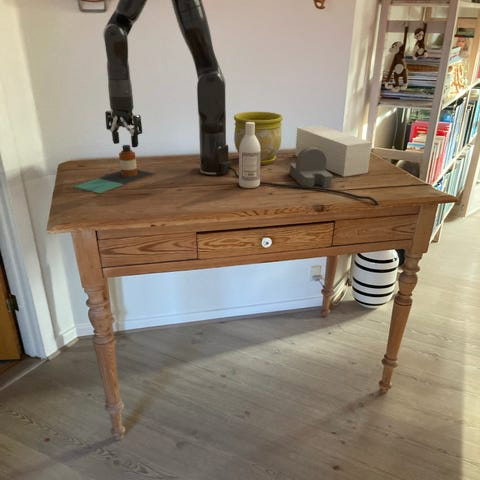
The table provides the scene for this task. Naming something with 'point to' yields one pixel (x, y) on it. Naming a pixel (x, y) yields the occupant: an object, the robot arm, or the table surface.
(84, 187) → the mat
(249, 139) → the bath foam
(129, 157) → the soap bottle
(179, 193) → the table surface
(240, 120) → the flowerpot
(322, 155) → the bracket
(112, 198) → the table surface
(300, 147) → the white rectangular box
